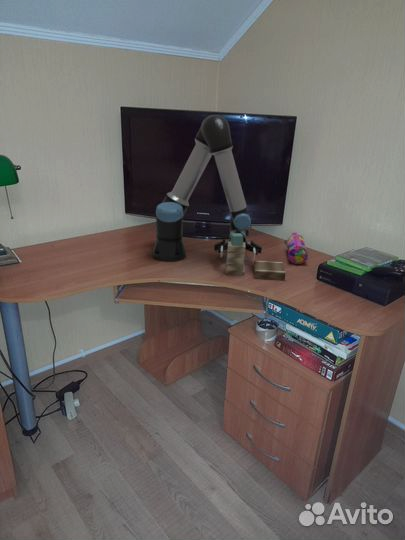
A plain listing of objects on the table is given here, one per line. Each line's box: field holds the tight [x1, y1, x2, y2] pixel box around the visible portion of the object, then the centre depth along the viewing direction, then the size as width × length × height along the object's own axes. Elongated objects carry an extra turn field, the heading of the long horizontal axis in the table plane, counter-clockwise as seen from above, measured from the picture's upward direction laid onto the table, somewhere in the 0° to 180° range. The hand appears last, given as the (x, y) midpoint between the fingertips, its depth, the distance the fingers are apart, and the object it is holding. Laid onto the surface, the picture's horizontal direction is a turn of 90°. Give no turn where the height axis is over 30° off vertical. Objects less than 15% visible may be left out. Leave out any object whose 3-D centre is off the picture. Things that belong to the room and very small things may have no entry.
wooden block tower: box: [224, 242, 246, 276], centre depth 159 cm, size 8×7×12 cm
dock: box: [253, 260, 286, 281], centre depth 159 cm, size 12×12×3 cm
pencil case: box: [283, 232, 309, 265], centre depth 179 cm, size 22×9×9 cm, turn 173°
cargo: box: [231, 233, 243, 246], centre depth 156 cm, size 4×4×4 cm
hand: (238, 255), depth 159 cm, fingers open, 13 cm apart
